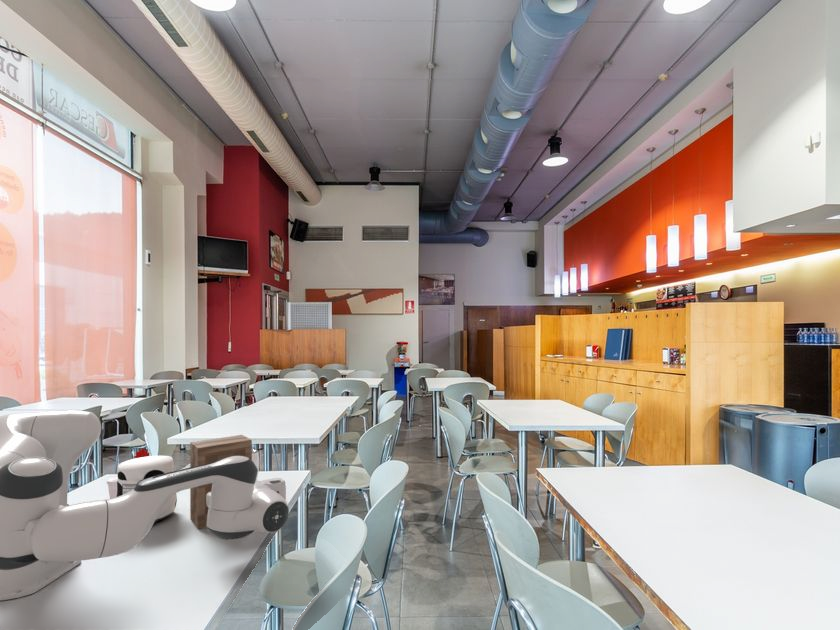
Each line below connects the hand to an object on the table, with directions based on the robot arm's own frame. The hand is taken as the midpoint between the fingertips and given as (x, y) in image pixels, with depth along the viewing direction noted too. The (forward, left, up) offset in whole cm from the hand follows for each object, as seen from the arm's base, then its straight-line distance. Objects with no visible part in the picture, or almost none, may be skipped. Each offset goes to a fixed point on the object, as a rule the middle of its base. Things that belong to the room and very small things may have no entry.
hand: (238, 486), depth 134 cm
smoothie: (+32, +46, -14) cm, 58 cm away
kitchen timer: (+51, +46, -14) cm, 70 cm away
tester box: (+15, +8, -14) cm, 22 cm away
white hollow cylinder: (+36, +4, -14) cm, 38 cm away
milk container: (+19, +32, -14) cm, 40 cm away
